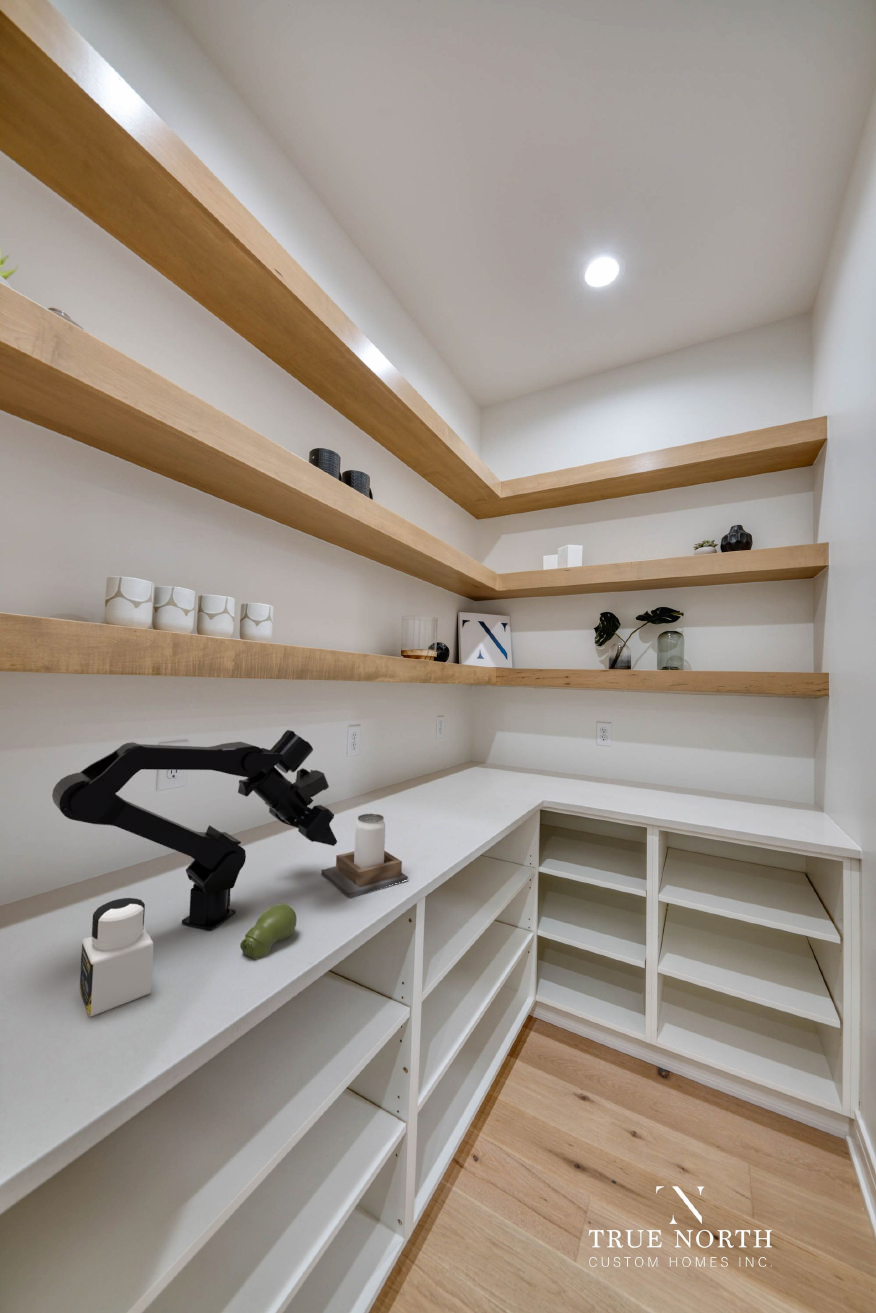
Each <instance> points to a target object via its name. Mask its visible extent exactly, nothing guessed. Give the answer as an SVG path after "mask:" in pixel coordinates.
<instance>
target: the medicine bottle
mask: <svg viewBox="0 0 876 1313" xmlns="http://www.w3.org/2000/svg"><path fill="white" fill-rule="evenodd" d="M145 908H146V904H145V903H144V901H142V900H141V899H139V898H136V897H135V898H134V897H125V898H124V897H122V898H117V899H114V900H111V901H108V902H106V903H104V904H102V905H101V906H99V907H98V908H97V909H96V910H95V911H94V912H93V913H92V924H91V927H92V928H91V936H89V937H85V938H83V939H82V941H81V952H80V954H81V956H80V974H79V975H80V976H79V978H80V979H79V992H80V995H81V998H82V1000H83V1003H84V1006H85V1010H86V1011H87V1015H88V1017H94V1016H96V1015H99V1014H101V1013H104V1012H107V1011H109V1010H111V1009H115V1008H117V1007H120V1006H122V1005H125V1004H127V1003H129V1002H131V1001H134V1000H137V999H140V998H142V997H144V996H147V995H149V994H151V992H152V981H153V980H152V979H153V978H152V977H153V962H154V960H153V959H154V941H153V940H152V938H151V937H150V935H149V933H148V932H147V930H146V929H145V911H146V910H145Z"/></svg>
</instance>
